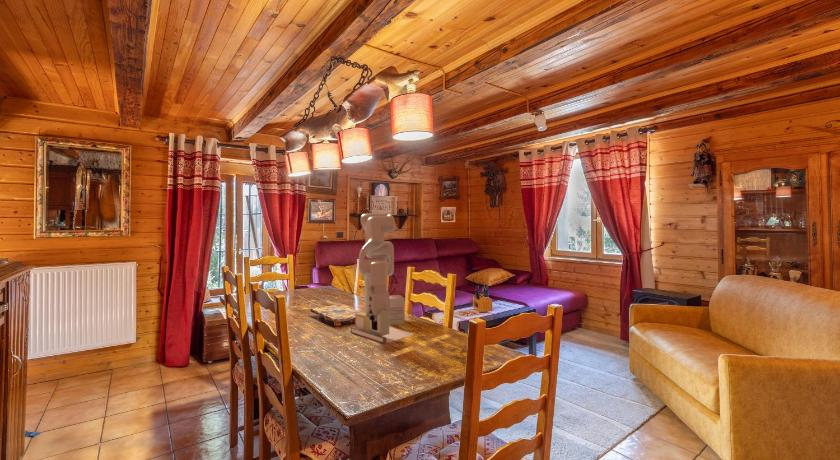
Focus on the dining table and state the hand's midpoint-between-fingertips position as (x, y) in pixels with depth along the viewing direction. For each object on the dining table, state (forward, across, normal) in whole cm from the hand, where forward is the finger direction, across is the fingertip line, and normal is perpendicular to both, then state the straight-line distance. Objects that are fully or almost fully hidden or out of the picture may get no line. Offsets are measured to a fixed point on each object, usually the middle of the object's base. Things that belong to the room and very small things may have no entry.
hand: (378, 327), depth 180 cm
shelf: (+6, +6, +4) cm, 9 cm away
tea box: (+2, 0, 0) cm, 2 cm away
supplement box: (+6, +22, +13) cm, 26 cm away
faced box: (+4, 0, +11) cm, 12 cm away
